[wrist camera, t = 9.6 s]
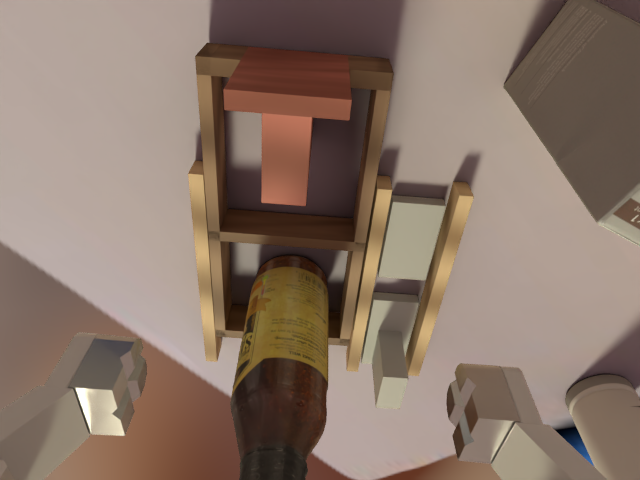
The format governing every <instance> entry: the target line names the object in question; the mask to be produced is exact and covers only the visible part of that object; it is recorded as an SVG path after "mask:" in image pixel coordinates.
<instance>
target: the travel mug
mask: <svg viewBox="0 0 640 480" xmlns="http://www.w3.org/2000/svg"><path fill="white" fill-rule="evenodd" d="M565 402H566V405H567V407H568V410H569V412H570V414H571V416H572V418H573V420H574V423H575V425H576V427H577V429H578V431H579V433H580V436H581V438H582V440H583V442H584V444H585V446H586V449H587V451H588V453H589V455H590V457H591V459H592V462H593V464H594V466H595V468H596V469H597V470H598V471H599V472H600V473H601V474H602V475H603V476H604V477H605V478H606V479H607V480H640V398H639V397H638V395H637V393H636V391H635V389H634V388H633V386H632V385H631V383H630V382H629V381H628V380H627V379H625V378H623V377H620V376H617V375H597V376H592V377H589V378H586V379H584V380H582V381H580V382H578V383H577V384H575V385H574V386H573V387H572V388H571V389H570V390H569V391H568V393H567V395H566V399H565Z"/></svg>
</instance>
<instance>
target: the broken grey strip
mask: <svg viewBox="0 0 640 480" xmlns="http://www.w3.org/2000/svg"><path fill="white" fill-rule="evenodd" d="M445 207H446V206H445V203H444V200H443V199H436V198H424V197H411V196H399V195H392V196H391V201H390V206H389V211H388V216H387V222H386V227H385V232H384V237H383V243H382V248H381V253H380V258H379V264H378V277H386V278H399V279H412V280H426V277H427V273H428V269H429V266H430V262H431V258H432V255H433V251H434V247H435V244H436V240H437V236H438V233H439V229H440V225H441V222H442V218H443V214H444V211H445ZM418 306H419V300H418V295H408V294H395V293H382V292H373V295H372V300H371V305H370V311H369V316H368V321H367V326H366V332H365V337H364V342H363V347H362V352H361V363H365V364H372V368H373V380H374V392H375V404H376V408H391V409H400V406H401V402H402V399H403V395H404V392H405V388H406V385H407V381H408V373H407V367H406V360H405V354H406V350H407V346H408V343H409V339H410V335H411V332H412V328H413V324H414V321H415V317H416V313H417V310H418Z"/></svg>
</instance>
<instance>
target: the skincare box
mask: <svg viewBox="0 0 640 480" xmlns="http://www.w3.org/2000/svg"><path fill="white" fill-rule="evenodd" d="M504 89H505V90H506V91H507V92H508V94H509V95H510V96H511V98H512V99H513V101H514V102H515V104H516V105H517V107H518V108H519V110H520V111H521V113H522V114H523V116H524V117H525V118H526V120H527V121H528V123H529V124H530V126H531V127H532V129H533V130H534V131H535V133H536V134H537V136H538V137H539V139H540V140H541V142H542V143H543V144H544V146H545V147H546V149H547V150H548V152H549V153H550V154H551V156H552V157H553V159H554V161H555V162H556V164H557V166H558V167H559V168H560V170H561V171H562V173H563V174H564V176H565V177H566V179H567V180H568V181H569V183H570V184H571V186H572V188H573V189H574V190H575V192H576V193H577V195H578V196H579V198H580V199H581V201H582V202H583V204H584V205H585V207H586V208H587V210H588V211H589V213H590V214H591V216H592V217H593V218H594V220H595V221H596V222H597V224H598V225H600V226H602V227H604V228H606V229H608V230H610V231H611V232H613V233H615V234H617V235H619V236H621V237H622V238H624V239H626V240H628V241H630V242H631V243H633V244H635V245H637V246H639V247H640V23H638V22H636V21H634V20H632V19H630V18H628V17H626V16H624V15H622V14H620V13H618V12H616V11H615V10H613V9H611V8H609V7H607V6H605V5H603V4H601V3H599V2H597V1H596V0H568V1H567V2H566V3H565V5H564V6H563V7H562V9H561V10H560V11H559V13H558V14H557V16H556V17H555V18H554V20H553V21H552V22H551V24H550V25H549V26H548V28H547V29H546V30H545V32H544V33H543V34H542V35H541V37H540V38H539V39H538V41H537V42H536V43H535V45H534V46H533V47H532V49H531V50H530V51H529V52H528V54H527V55H526V56H525V58H524V59H523V60H522V61H521V63H520V64H519V66H518V67H517V68H516V70H515V71H514V72H513V74H512V75H511V76H510V78H509V79H508V80H507V82H506V83H505V84H504Z"/></svg>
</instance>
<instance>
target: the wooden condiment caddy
mask: <svg viewBox="0 0 640 480" xmlns="http://www.w3.org/2000/svg"><path fill="white" fill-rule="evenodd" d="M195 59H196V73H197V86H198V100H199V113H200V127H201V141H202V154H203V168H204V181H205V195H206V209H207V222H208V236H209V249H210V263H211V277H212V290H213V304H214V317H215V331H216V336H218V337H232V338H242V337H243V332H244V326H245V322H246V316H247V311H248V306H241V305H232V299H231V276H230V253H229V242H240V243H253V244H266V245H279V246H292V247H305V248H318V249H331V250H344V251H348V257H347V264H346V272H345V279H344V286H343V293H342V300H341V307H340V313H336V312H328V344H329V345H343V346H349V341H350V335H351V329H352V323H353V317H354V311H355V305H356V298H357V292H358V286H359V280H360V274H361V268H362V262H363V256H364V250H365V244H366V238H367V232H368V226H369V220H370V214H371V208H372V202H373V196H374V190H375V184H376V178H377V172H378V166H379V160H380V154H381V148H382V142H383V135H384V129H385V123H386V117H387V111H388V105H389V99H390V93H391V87H392V81H393V75H394V72H393V70H392V67H391V64H390V61H389V59H386V58H374V57H363V56H351V55H340V54H328V53H317V52H306V51H294V50H283V49H271V48H260V47H248V46H237V45H226V44H214V43H207V44H206V45H205V46H204V47H203V48H202V49H201V50H200V51H199V53H198V54H197V55H196V56H195ZM222 77H230V79H229V81H228V82H227V84H226V86H225V87H224V89H223V90H222ZM351 88H360V89H371V94H370V101H369V108H368V116H367V123H366V130H365V137H364V144H363V151H362V158H361V165H360V172H359V179H358V186H357V194H356V201H355V208H354V215H353V219H350V218H337V217H324V216H312V215H299V214H286V213H274V212H261V211H248V210H235V209H228V206H227V183H226V160H225V136H224V113H223V91H224V110H230V111H242V112H254V113H262V193H261V203H272V204H285V205H298V206H306V198H307V188H308V177H309V166H310V156H311V145H312V132H313V118H325V119H337V120H349V119H350V111H351V102H352V97H351Z"/></svg>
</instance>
